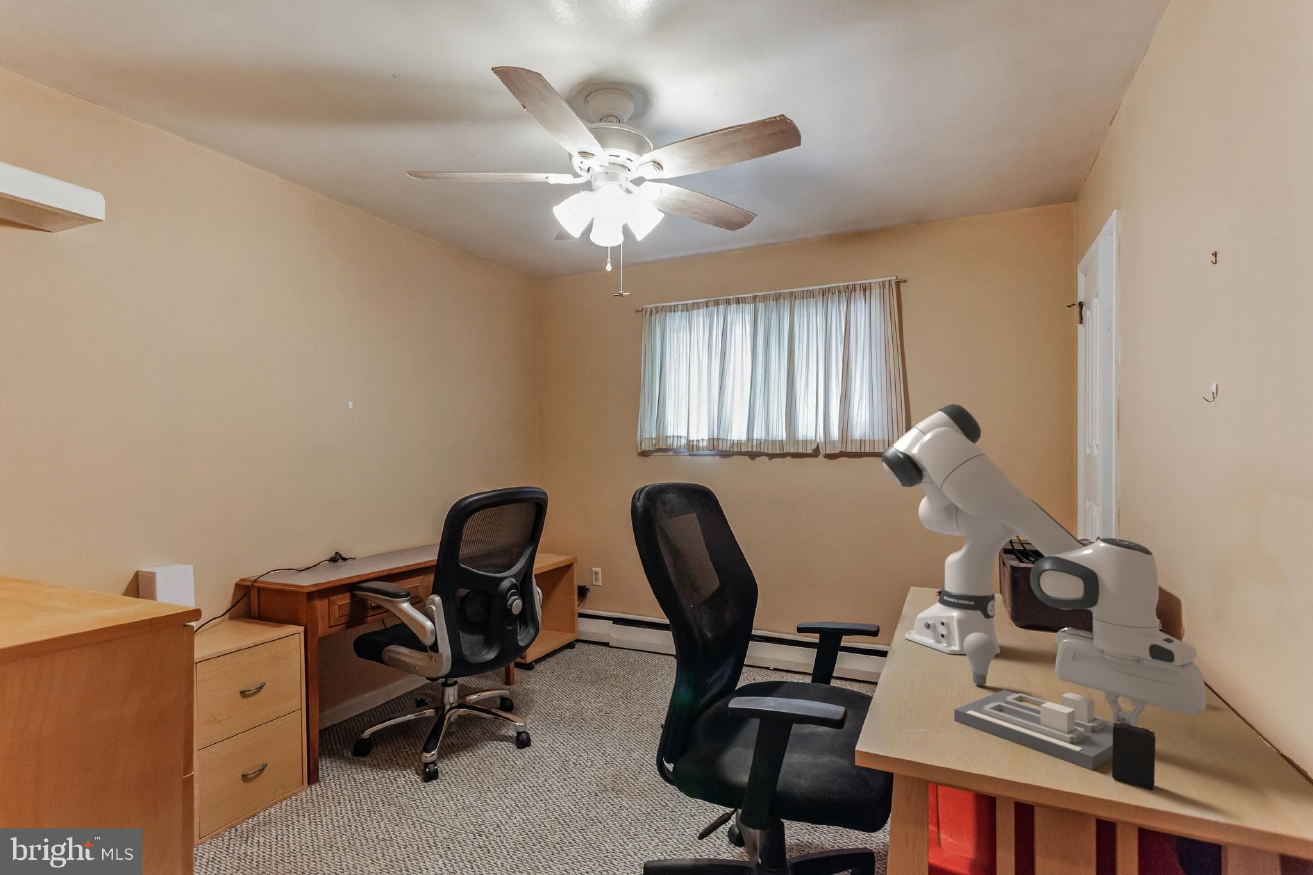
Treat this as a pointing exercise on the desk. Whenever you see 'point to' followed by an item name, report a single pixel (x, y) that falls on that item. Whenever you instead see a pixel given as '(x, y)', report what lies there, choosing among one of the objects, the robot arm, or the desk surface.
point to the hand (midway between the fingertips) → (1125, 723)
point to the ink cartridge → (1133, 755)
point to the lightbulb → (979, 655)
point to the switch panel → (1038, 728)
